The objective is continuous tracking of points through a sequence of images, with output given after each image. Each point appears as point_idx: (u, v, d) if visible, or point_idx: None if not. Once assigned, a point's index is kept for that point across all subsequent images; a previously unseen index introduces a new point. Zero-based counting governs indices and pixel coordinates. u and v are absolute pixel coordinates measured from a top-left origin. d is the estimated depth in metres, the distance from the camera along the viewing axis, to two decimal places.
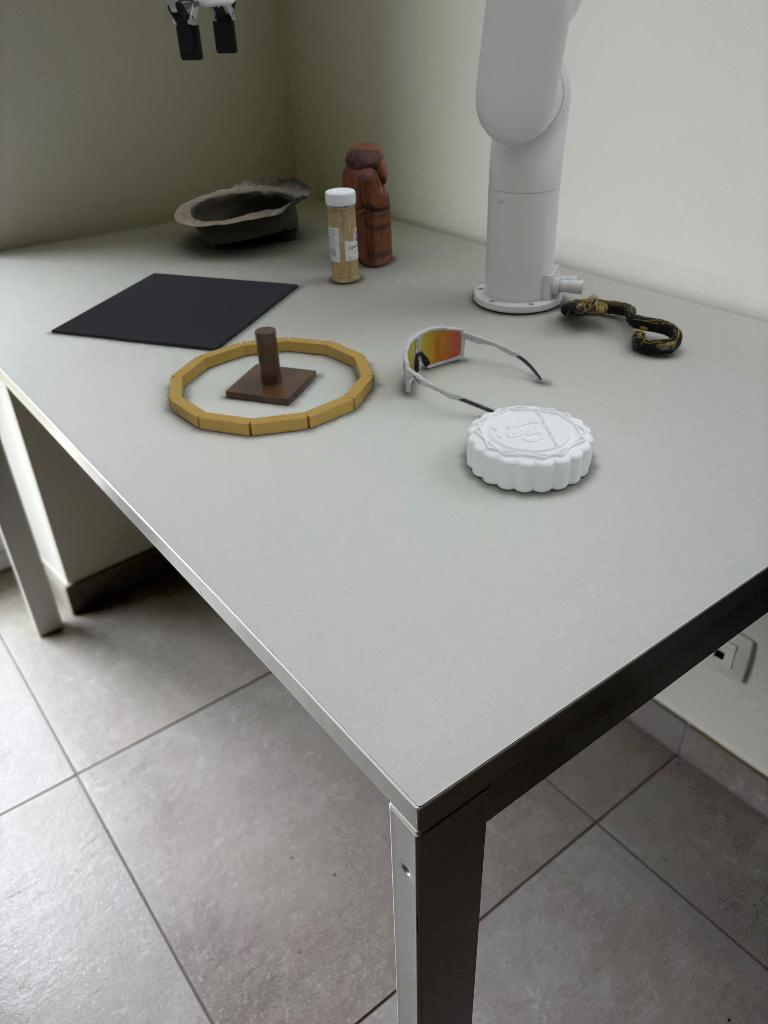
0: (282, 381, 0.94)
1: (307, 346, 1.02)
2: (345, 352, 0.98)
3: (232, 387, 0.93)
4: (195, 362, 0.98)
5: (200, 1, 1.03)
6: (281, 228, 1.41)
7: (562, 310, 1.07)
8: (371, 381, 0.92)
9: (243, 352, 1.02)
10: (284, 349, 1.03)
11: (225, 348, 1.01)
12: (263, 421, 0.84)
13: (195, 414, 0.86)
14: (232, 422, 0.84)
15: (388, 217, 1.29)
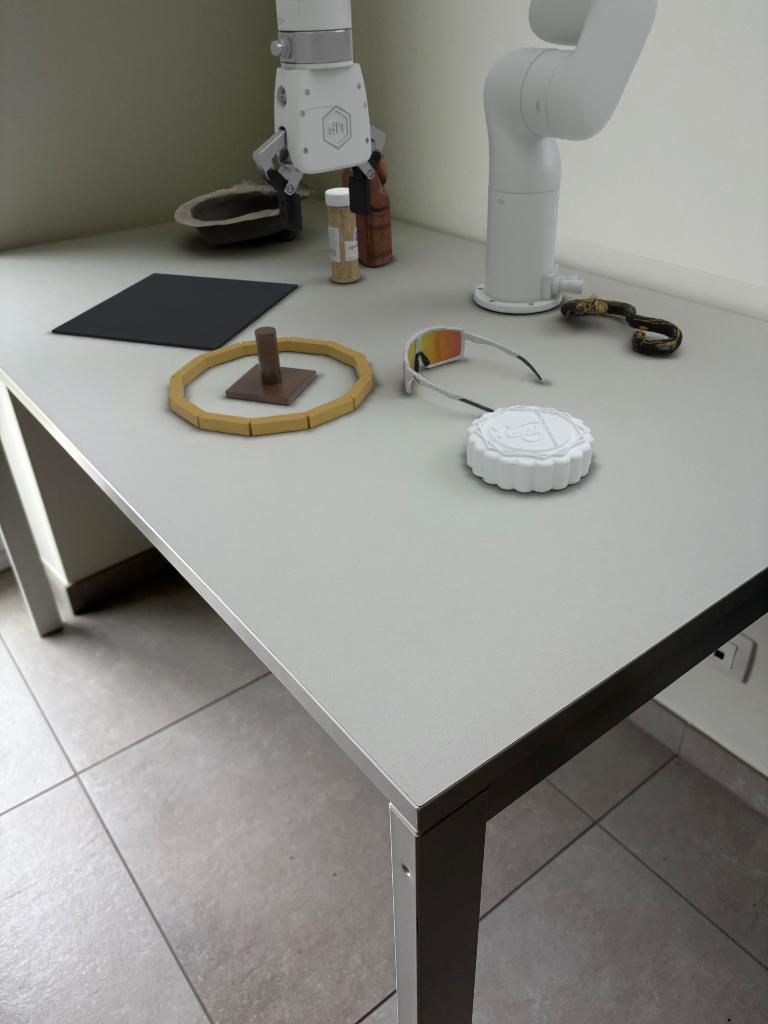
0: (282, 381, 0.94)
1: (307, 346, 1.02)
2: (345, 352, 0.98)
3: (232, 387, 0.93)
4: (195, 362, 0.98)
5: (300, 169, 0.84)
6: (281, 228, 1.41)
7: (562, 310, 1.07)
8: (371, 381, 0.92)
9: (243, 352, 1.02)
10: (284, 349, 1.03)
11: (225, 348, 1.01)
12: (263, 421, 0.84)
13: (195, 414, 0.86)
14: (232, 422, 0.84)
15: (388, 217, 1.29)
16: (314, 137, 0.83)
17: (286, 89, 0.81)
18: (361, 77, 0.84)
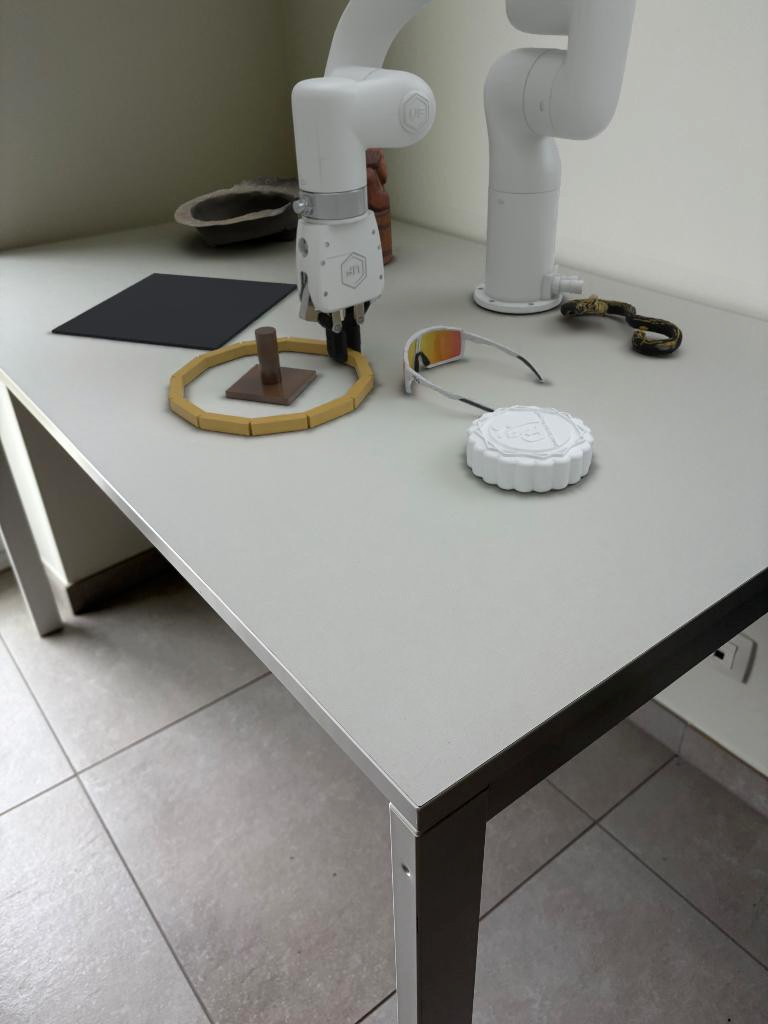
0: (282, 381, 0.94)
1: (307, 346, 1.02)
2: None
3: (232, 387, 0.93)
4: (195, 362, 0.98)
5: (321, 309, 0.91)
6: (281, 228, 1.41)
7: (562, 310, 1.07)
8: (371, 381, 0.92)
9: (243, 352, 1.02)
10: (284, 349, 1.03)
11: (225, 348, 1.01)
12: (263, 421, 0.84)
13: (195, 414, 0.86)
14: (232, 422, 0.84)
15: (388, 217, 1.29)
16: (333, 281, 0.91)
17: (307, 242, 0.88)
18: (375, 224, 0.92)
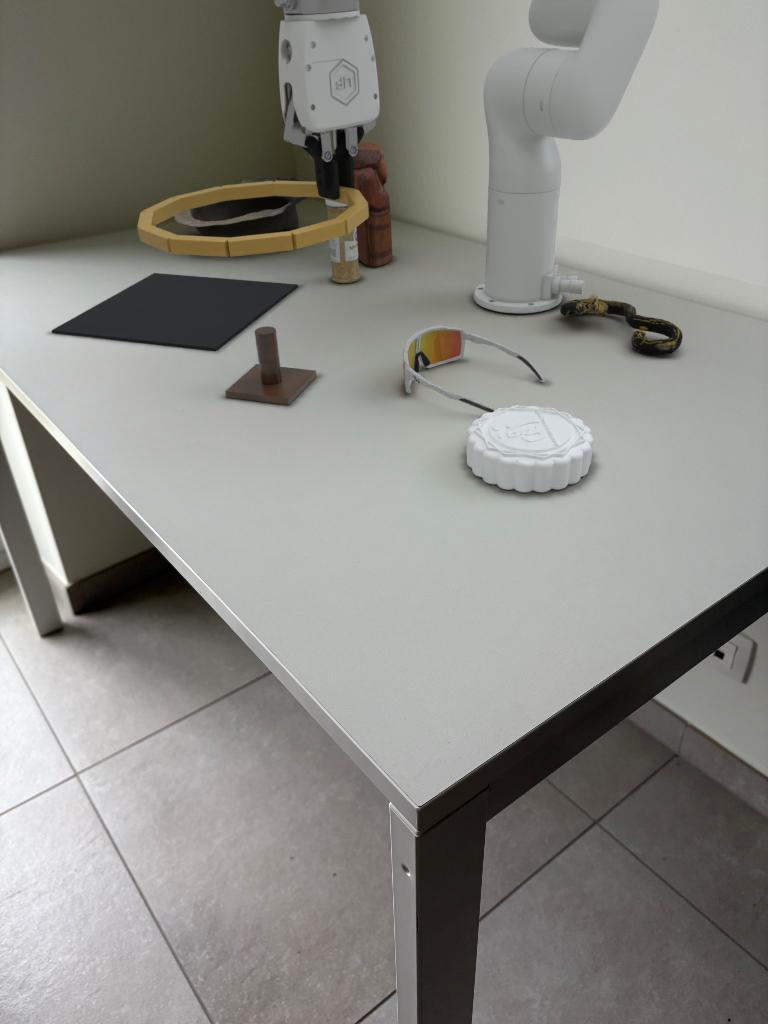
0: (282, 381, 0.94)
1: (295, 188, 0.91)
2: None
3: (232, 387, 0.93)
4: (169, 201, 0.87)
5: (308, 127, 0.81)
6: (281, 228, 1.41)
7: (562, 310, 1.07)
8: (365, 209, 0.82)
9: (224, 196, 0.92)
10: (269, 193, 0.92)
11: (203, 191, 0.90)
12: (242, 239, 0.74)
13: (165, 236, 0.76)
14: (207, 241, 0.74)
15: (388, 217, 1.29)
16: (321, 93, 0.80)
17: (291, 42, 0.78)
18: (368, 29, 0.81)
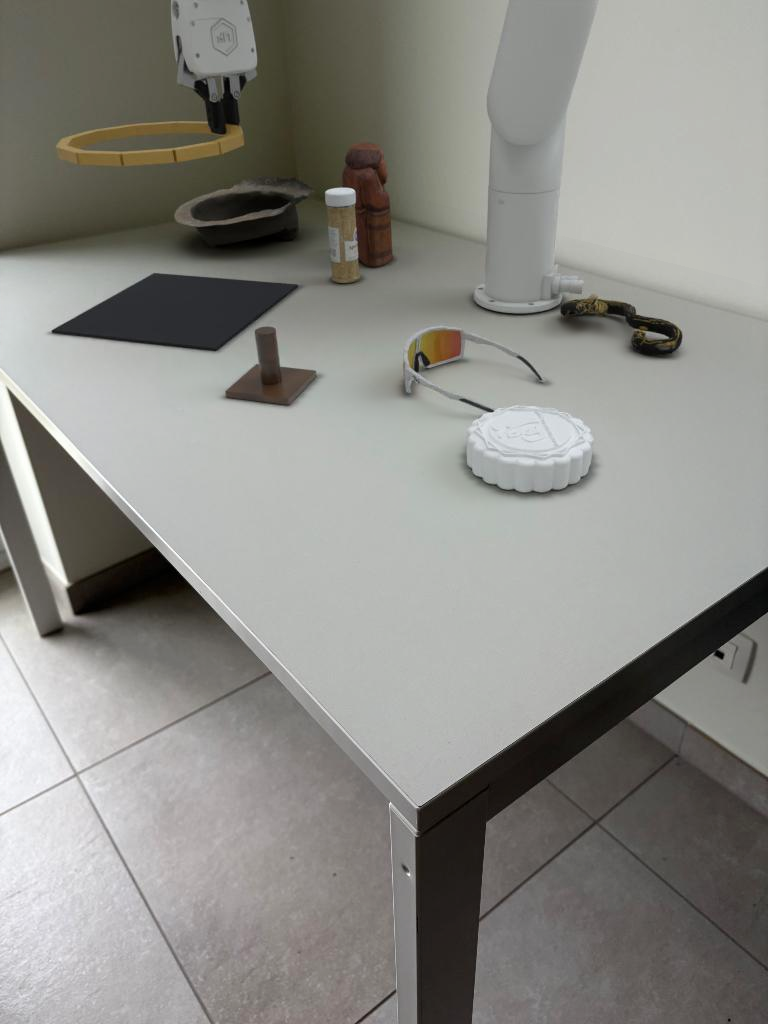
0: (282, 381, 0.94)
1: (193, 126, 1.12)
2: None
3: (232, 387, 0.93)
4: (87, 132, 1.08)
5: (194, 71, 1.02)
6: (281, 228, 1.41)
7: (562, 310, 1.07)
8: (240, 137, 1.02)
9: (135, 132, 1.12)
10: (173, 131, 1.13)
11: (117, 127, 1.11)
12: (133, 152, 0.94)
13: (75, 151, 0.96)
14: (106, 154, 0.95)
15: (388, 217, 1.29)
16: (204, 44, 1.01)
17: (178, 3, 0.98)
18: None
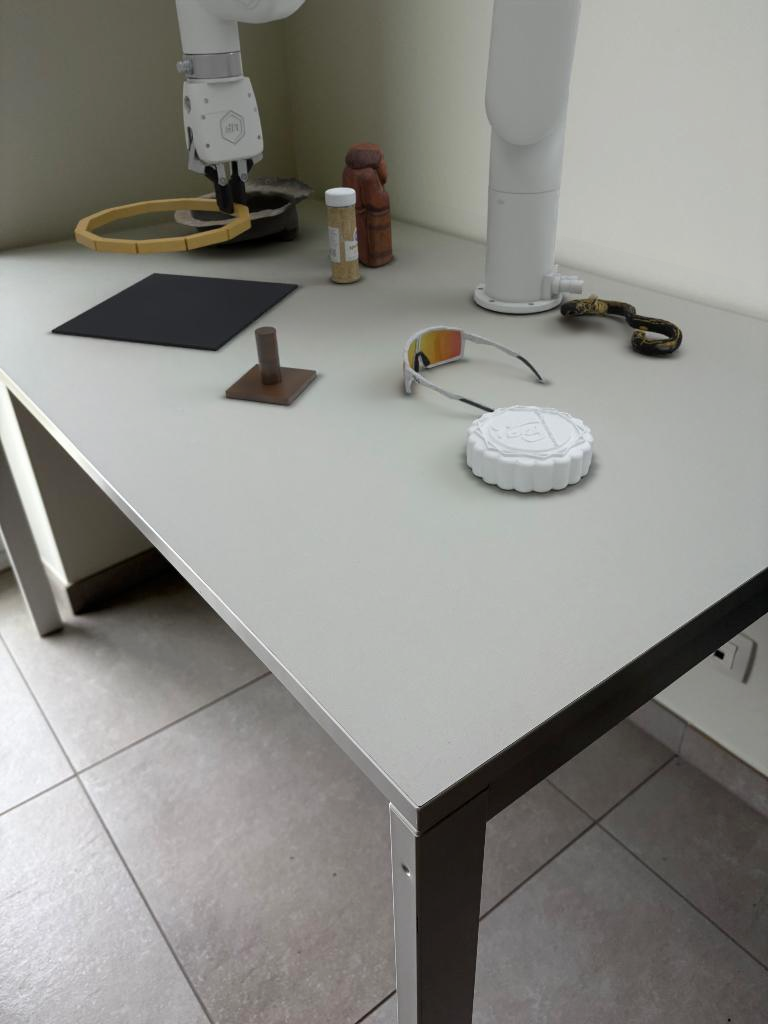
0: (282, 381, 0.94)
1: (203, 204, 1.19)
2: None
3: (232, 387, 0.93)
4: (103, 212, 1.15)
5: (204, 160, 1.09)
6: (281, 228, 1.41)
7: (562, 310, 1.07)
8: (247, 221, 1.09)
9: (148, 209, 1.19)
10: (183, 207, 1.20)
11: (131, 205, 1.18)
12: (148, 242, 1.01)
13: (93, 239, 1.03)
14: (122, 243, 1.01)
15: (388, 217, 1.29)
16: (214, 135, 1.08)
17: (190, 98, 1.05)
18: (251, 88, 1.09)
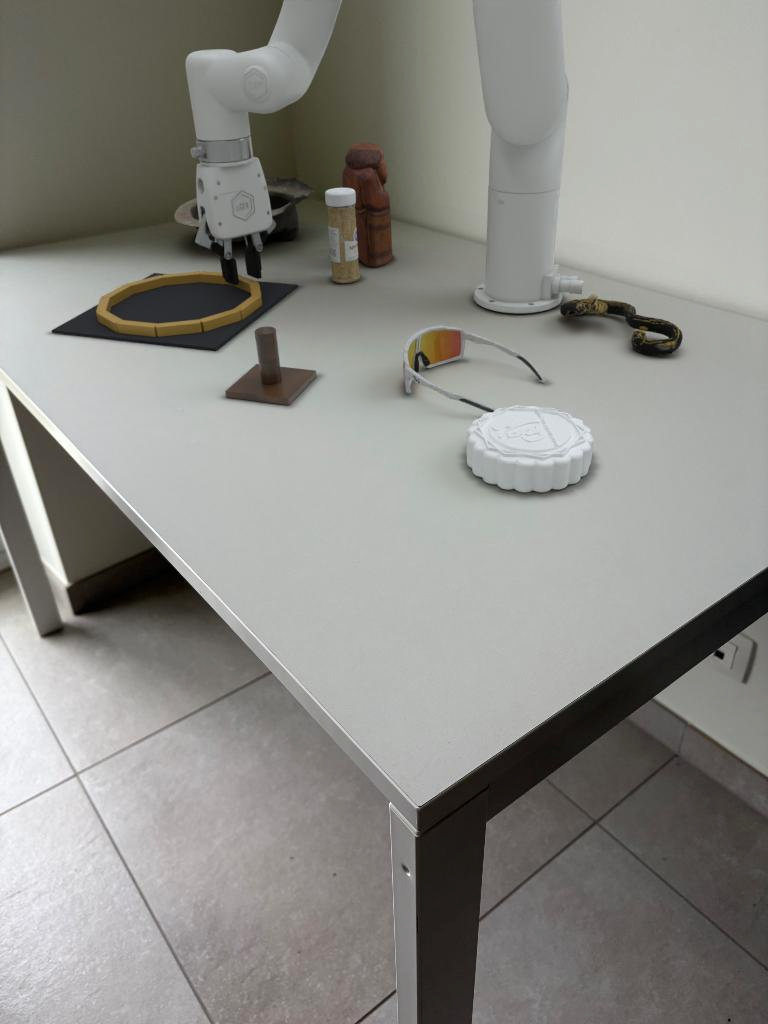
0: (282, 381, 0.94)
1: (216, 278, 1.25)
2: (243, 281, 1.22)
3: (232, 387, 0.93)
4: (122, 288, 1.21)
5: (216, 237, 1.14)
6: (281, 228, 1.41)
7: (562, 310, 1.07)
8: (259, 300, 1.16)
9: (163, 283, 1.25)
10: (197, 280, 1.26)
11: (148, 279, 1.24)
12: (166, 325, 1.07)
13: (114, 321, 1.09)
14: (142, 326, 1.08)
15: (388, 217, 1.29)
16: (226, 214, 1.13)
17: (203, 181, 1.11)
18: (260, 168, 1.14)
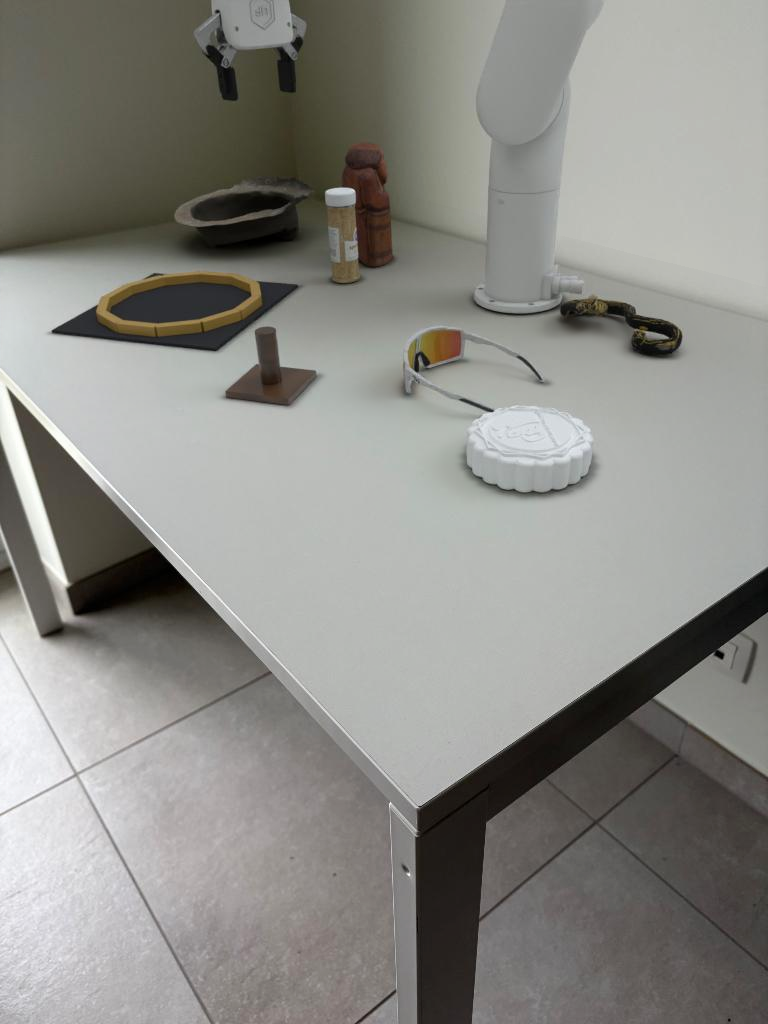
0: (282, 381, 0.94)
1: (216, 278, 1.25)
2: (243, 281, 1.22)
3: (232, 387, 0.93)
4: (122, 288, 1.21)
5: (233, 45, 1.04)
6: (281, 228, 1.41)
7: (562, 310, 1.07)
8: (259, 300, 1.16)
9: (163, 283, 1.25)
10: (197, 280, 1.26)
11: (148, 279, 1.24)
12: (166, 325, 1.07)
13: (114, 321, 1.09)
14: (142, 326, 1.08)
15: (388, 217, 1.29)
16: (243, 18, 1.04)
17: None
18: None
